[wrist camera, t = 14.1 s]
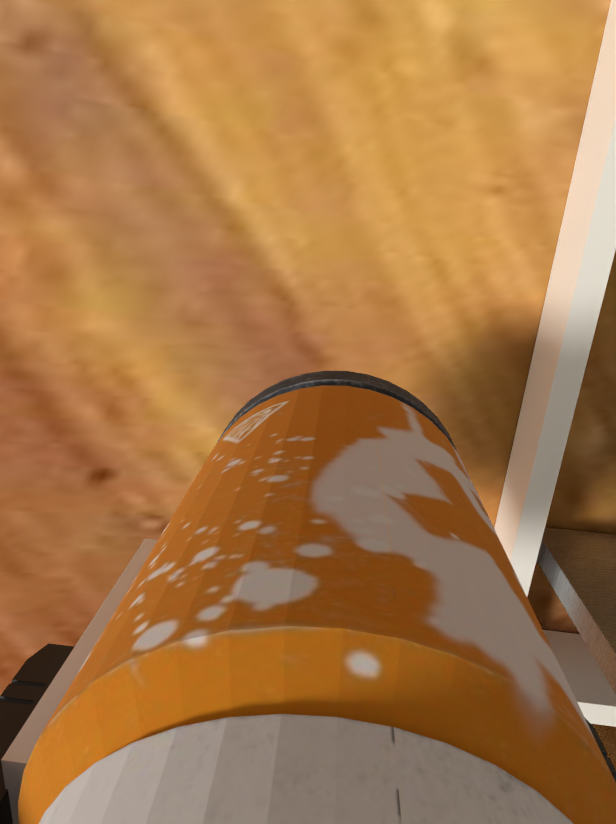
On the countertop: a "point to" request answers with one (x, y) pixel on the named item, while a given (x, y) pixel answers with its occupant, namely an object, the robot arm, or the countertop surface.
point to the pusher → (585, 587)
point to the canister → (323, 644)
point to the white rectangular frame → (567, 367)
